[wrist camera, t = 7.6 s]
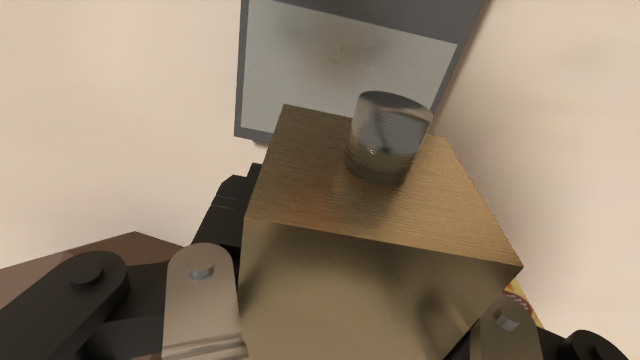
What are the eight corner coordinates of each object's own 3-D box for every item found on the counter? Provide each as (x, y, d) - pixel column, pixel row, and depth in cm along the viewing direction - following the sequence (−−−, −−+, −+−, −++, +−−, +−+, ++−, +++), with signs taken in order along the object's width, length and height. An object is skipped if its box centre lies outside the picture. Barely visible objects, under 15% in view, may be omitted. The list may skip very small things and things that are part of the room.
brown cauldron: (266, 341, 42) (234, 518, 29) (86, 330, 42) (-28, 502, 29) (252, 199, 29) (180, 414, 15) (-14, 184, 29) (-320, 383, 15)
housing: (291, 50, 8) (252, 137, 4) (467, 90, 9) (580, 203, 5) (263, 243, 13) (229, 379, 9) (383, 264, 13) (405, 402, 9)
